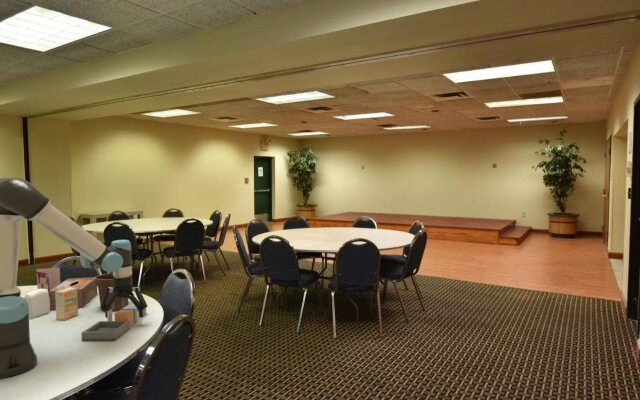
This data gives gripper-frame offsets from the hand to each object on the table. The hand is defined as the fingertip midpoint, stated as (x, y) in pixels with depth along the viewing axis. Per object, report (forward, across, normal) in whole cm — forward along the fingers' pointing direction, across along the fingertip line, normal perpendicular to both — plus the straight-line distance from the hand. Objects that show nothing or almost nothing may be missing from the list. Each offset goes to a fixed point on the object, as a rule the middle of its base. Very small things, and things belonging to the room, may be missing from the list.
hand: (124, 324), depth 182 cm
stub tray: (0, +2, +11) cm, 11 cm away
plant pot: (0, +17, -25) cm, 30 cm away
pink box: (0, +65, -48) cm, 81 cm away
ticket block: (0, 0, -9) cm, 9 cm away
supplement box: (0, +32, -11) cm, 34 cm away
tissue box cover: (+1, +43, -35) cm, 55 cm away
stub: (0, 0, 0) cm, 0 cm away
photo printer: (0, +48, -14) cm, 50 cm away
